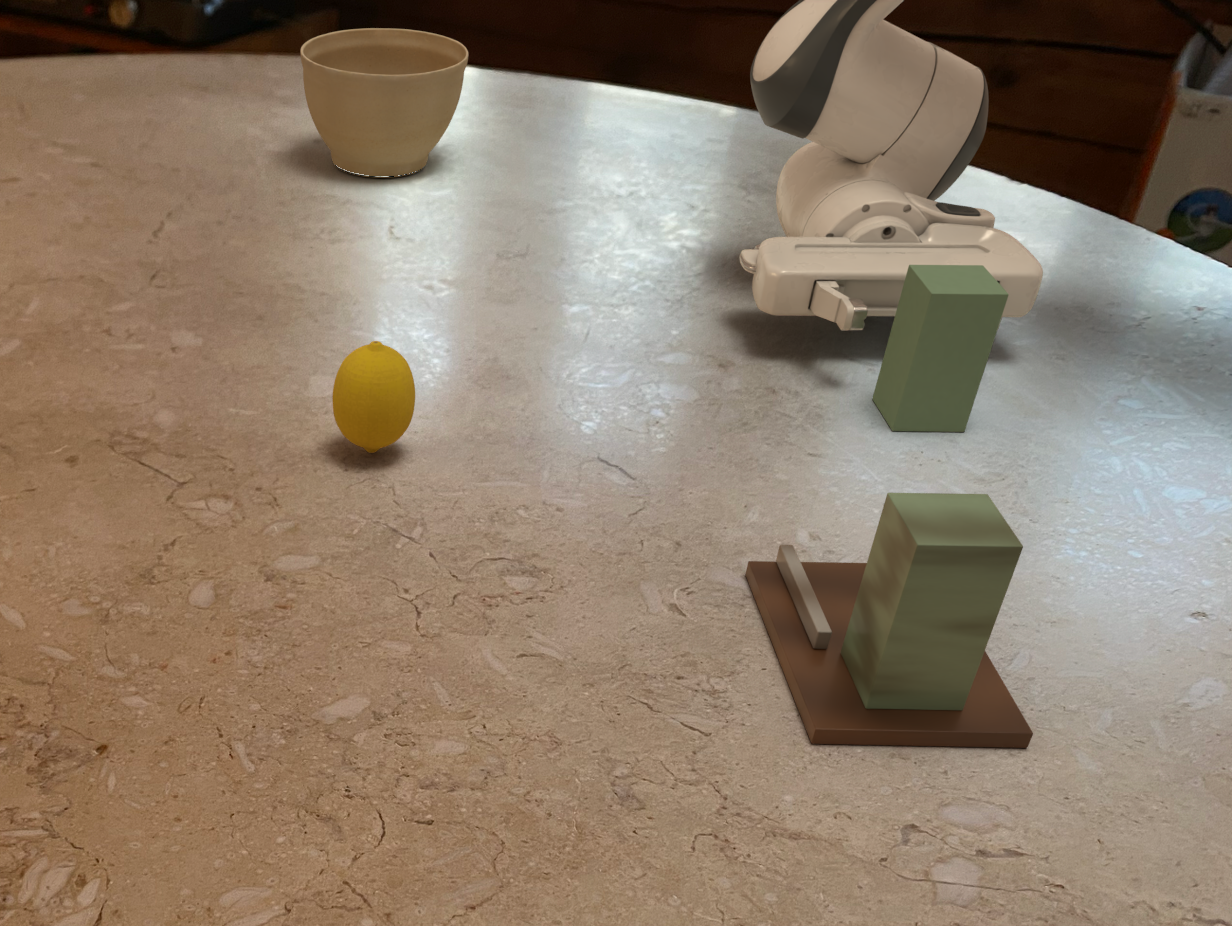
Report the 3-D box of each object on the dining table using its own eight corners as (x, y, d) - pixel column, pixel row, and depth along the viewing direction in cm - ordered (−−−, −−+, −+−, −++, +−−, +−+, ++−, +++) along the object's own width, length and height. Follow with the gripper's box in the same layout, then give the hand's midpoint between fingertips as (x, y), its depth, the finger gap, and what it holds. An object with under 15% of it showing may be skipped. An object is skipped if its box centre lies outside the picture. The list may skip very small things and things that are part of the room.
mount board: (744, 574, 88) (783, 407, 81) (930, 577, 87) (985, 410, 80) (811, 744, 75) (864, 563, 68) (1027, 748, 75) (1102, 567, 68)
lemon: (391, 427, 103) (396, 319, 98) (425, 463, 99) (433, 352, 94) (318, 441, 101) (320, 332, 96) (350, 478, 97) (354, 366, 92)
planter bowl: (279, 183, 143) (279, 64, 136) (324, 133, 155) (326, 22, 148) (441, 199, 139) (449, 78, 132) (473, 147, 151) (483, 34, 144)
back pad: (871, 398, 106) (908, 264, 100) (941, 399, 106) (983, 265, 99) (892, 431, 102) (931, 293, 96) (964, 432, 102) (1009, 294, 95)
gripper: (741, 208, 113) (783, 277, 102) (1011, 209, 112) (1082, 278, 101) (726, 287, 117) (765, 361, 106) (986, 288, 116) (1052, 363, 105)
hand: (922, 321), depth 103 cm, fingers open, 8 cm apart
